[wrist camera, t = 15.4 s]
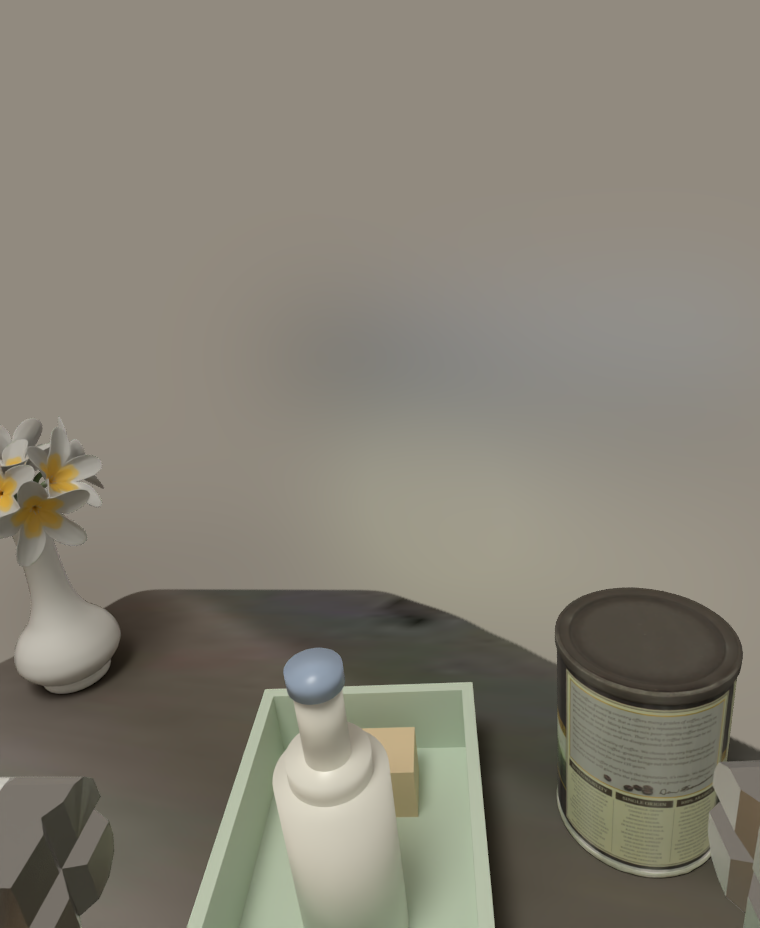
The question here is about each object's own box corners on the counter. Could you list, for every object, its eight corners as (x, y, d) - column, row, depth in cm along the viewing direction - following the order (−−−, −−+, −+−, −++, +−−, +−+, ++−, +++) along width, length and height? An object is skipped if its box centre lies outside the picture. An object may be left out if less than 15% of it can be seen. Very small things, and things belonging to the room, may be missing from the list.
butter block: (419, 769, 48) (414, 726, 47) (418, 817, 45) (413, 772, 43) (324, 771, 49) (317, 729, 48) (316, 818, 45) (308, 774, 44)
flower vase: (59, 761, 53) (-44, 478, 44) (-21, 674, 65) (-115, 437, 56) (196, 672, 62) (133, 421, 53) (103, 610, 74) (39, 395, 65)
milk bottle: (410, 873, 41) (380, 625, 34) (406, 981, 35) (369, 712, 28) (315, 873, 41) (266, 629, 34) (297, 978, 36) (234, 715, 29)
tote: (475, 744, 51) (472, 682, 48) (507, 1101, 31) (503, 1021, 29) (277, 749, 52) (265, 689, 50) (184, 1092, 32) (157, 1016, 30)
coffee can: (530, 768, 48) (527, 605, 43) (657, 734, 50) (669, 573, 45) (604, 901, 39) (611, 713, 34) (758, 854, 40) (788, 668, 35)
